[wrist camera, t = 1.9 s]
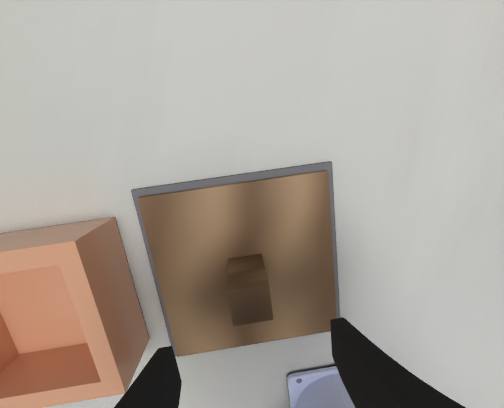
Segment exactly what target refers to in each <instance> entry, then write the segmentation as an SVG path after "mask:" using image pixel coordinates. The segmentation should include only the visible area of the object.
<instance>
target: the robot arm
mask: <svg viewBox="0 0 504 408" xmlns="http://www.w3.org/2000/svg"><path fill="white" fill-rule="evenodd" d="M330 325H331V341H332V356H333V359H334V361H335V364H336V366H333V367H327V368H321V369H316V370H310V371H304V372H298V373H293V374H290V375H288V377H287V384H288V392H289V400H290V408H465V407H464V406H462V405H460V404H458V403H457V402H455V401H453V400H452V399H450V398H448V397H447V396H445V395H443V394H442V393H440V392H439V391H437V390H436V389H434V388H433V387H431V386H430V385H428V384H426V383H425V382H423V381H422V380H420V379H419V378H418V377H416V376H415V375H413V374H412V373H411V372H409V371H408V370H406V369H405V368H404V367H402V366H401V365H400V364H398V363H397V362H396V361H394V360H393V359H392V358H391V357H389V356H388V355H387V354H386V353H384V352H383V351H382V350H381V349H379V348H378V347H377V346H376V345H375V344H373V343H372V342H371V341H370V340H369V339H367V338H366V337H365V336H364V335H363V334H362V333H361V332H359V331H358V330H357V329H356V328H355V327H354V326H353V325H352V324H350V323H349V322H348V321H347V320H346V319H345V318H337V319H331V320H330ZM181 383H182V382H181V378H180V374H179V370H178V366H177V362H176V359H175V355H174V351H173V347H172V346H169V347H163V348H158V350H157V351H156V352H155V354H154V355H153V356H152V358H151V359H150V360H149V362H148V363H147V365H146V366H145V367H144V369H143V370H142V371H141V373H140V374H139V376H138V377H137V378H136V380H135V381H134V382H133V384H132V385H131V386H130V388H129V389H128V390H127V392H126V393H125V394H124V396H123V397H122V398H121V400H120V401H119V402H118V403H117V405H116V406H115V407H114V408H178V406H179V399H180V391H181Z"/></svg>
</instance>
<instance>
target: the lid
mask: <svg viewBox="0 0 504 408" xmlns="http://www.w3.org/2000/svg"><path fill="white" fill-rule="evenodd" d="M137 201H138V205H139V209H140V213H141V216H142V220H143V224H144V228H145V232H146V236H147V240H148V244H149V248H150V252H151V256H152V259H153V263H154V267H155V271H156V275H157V279H158V283H159V287H160V291H161V295H162V299H163V302H164V306H165V310H166V314H167V318H168V322H169V326H170V330H171V334H172V338H173V342H174V345H175V349H176V353H177V357H179V356H185V355H191V354H197V353H203V352H209V351H215V350H221V349H227V348H233V347H239V346H245V345H251V344H256V343H262V342H268V341H274V340H280V339H286V338H292V337H298V336H304V335H310V334H316V333H322V332H328V331H331V325H330V320H331V319H337V314H336V296H335V278H334V260H333V242H332V224H331V206H330V188H329V171H327V170H322V171H315V172H308V173H301V174H294V175H287V176H280V177H273V178H266V179H259V180H252V181H245V182H238V183H231V184H224V185H217V186H210V187H203V188H196V189H189V190H182V191H175V192H168V193H161V194H154V195H147V196H140V197H138V198H137Z"/></svg>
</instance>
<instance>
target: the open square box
mask: <svg viewBox="0 0 504 408" xmlns="http://www.w3.org/2000/svg"><path fill="white" fill-rule="evenodd" d="M148 341H149V335H148V332H147V328H146V325H145V321H144V318H143V314H142V311H141V307H140V304H139V300H138V297H137V293H136V289H135V286H134V282H133V279H132V275H131V272H130V268H129V265H128V261H127V258H126V254H125V251H124V247H123V244H122V240H121V237H120V233H119V230H118V226H117V223H116V219H115V217H110V218H104V219H97V220H90V221H83V222H76V223H69V224H62V225H56V226H49V227H42V228H35V229H28V230H21V231H14V232H7V233H1V234H0V408H43V407H49V406H54V405H60V404H66V403H72V402H78V401H84V400H89V399H95V398H101V397H107V396H113V395H118V394H124V393H126V391H127V389H128V387H129V384H130V382H131V380H132V377H133V375H134V373H135V371H136V368H137V366H138V364H139V362H140V359H141V357H142V355H143V352H144V350H145V348H146V346H147V343H148Z"/></svg>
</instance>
